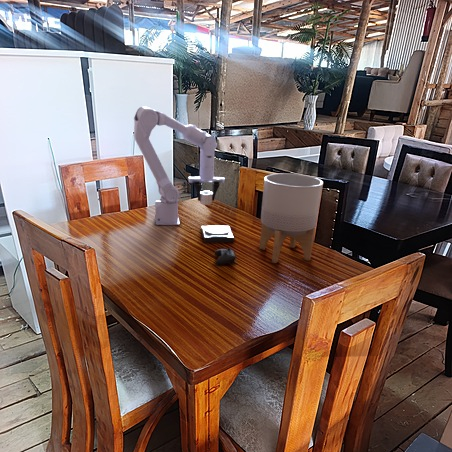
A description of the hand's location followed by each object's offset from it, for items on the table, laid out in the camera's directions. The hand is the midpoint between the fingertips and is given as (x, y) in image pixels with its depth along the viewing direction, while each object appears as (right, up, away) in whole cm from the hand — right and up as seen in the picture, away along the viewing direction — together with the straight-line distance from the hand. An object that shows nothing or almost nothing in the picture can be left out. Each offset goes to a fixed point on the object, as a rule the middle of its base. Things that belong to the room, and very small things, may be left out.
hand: (206, 200), depth 168 cm
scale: (+5, -18, -14) cm, 23 cm away
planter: (+29, -26, -26) cm, 47 cm away
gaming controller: (+8, -29, -33) cm, 45 cm away
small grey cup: (0, -1, +1) cm, 1 cm away
